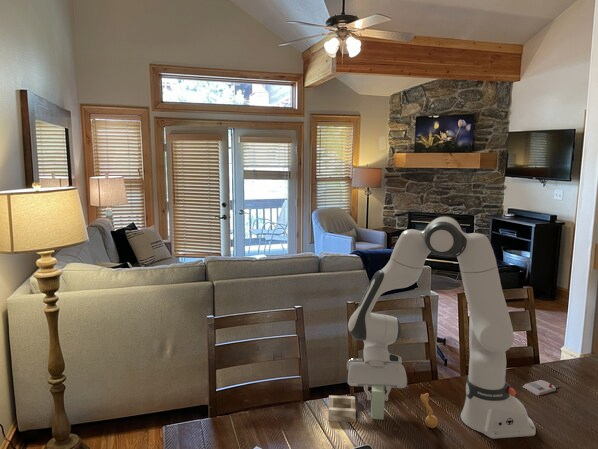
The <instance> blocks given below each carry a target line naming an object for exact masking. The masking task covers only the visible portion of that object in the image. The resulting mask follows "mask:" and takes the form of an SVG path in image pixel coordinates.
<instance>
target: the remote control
mask: <svg viewBox="0 0 598 449" xmlns="http://www.w3.org/2000/svg"><path fill="white" fill-rule="evenodd" d="M558 387H561V385H560V384H559V385H553V384H552V383H550V382H549V381H545V380H544V379H543V380H542V379H539V380H536V381H531V382H528V383H525V384H524V385H522V388H523V389H524V388H525V389H524V390H526V389H527V390H526V391H528V392H530V393H531V394H534V395H535V396H542V395H546V394H549V393H552V392H556V391H557V388H558Z"/></svg>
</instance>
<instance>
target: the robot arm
mask: <svg viewBox="0 0 598 449" xmlns="http://www.w3.org/2000/svg"><path fill="white" fill-rule="evenodd" d="M431 253H432V254H434V255H438V256H443V257H452V258H457V261H458V264H459V266H458V267H459V271H460V275H461V281H462V285H463V291H464V294H465V299H466V302H467V306H468V311H469V316H468V317H469V318H468V319H469V321H468V322H469V328H468V330H469V332H468V334H469V335H468V336H469V338H468V339H469V340H468V342H469V360H468V361H469V362H468V375H467V377H466V383H465V394H466V395H465V400H464V405H463V408H462V411H461V413H460V419H461V421H462V422H463V423H464V424H465V425H466V426H467V427H469V428H470V429H472V430H474V431H477V432H479V433H481V434H484V435H485V436H487V437H488V438H490V439H506V438H518V437H521V438H522V437H534V436H535V435H536V433H537V432H536V429H537V428H536V426H535V424H534V422H533V420H532V419H531V418H530V416H528V412H527V409H526V408H525V405H524V404H523V403H522V402H521V400H520V399H518V398H516V396H517V391H516V390H515V389H514V388H513V387H511V385H510V384H509V383H508V382H507V381H506V373H507V356H506V354H507V353H506V352H507V351H509V350H510V349H511V347H512V346H513V344H514V341H515V333H514V328H513V325H512V320H511V317H510V313H509V309H508V305H507V302H506V299H505V295H504V291H503V287H502V284H501V283H502V282H501V278H500V273H499V268H498V263H497V258H496V255H495V253H494V249H493V247H492V244H491V241H490V240H489V238H488V237H487V235H485V234H483V233H480V232H479V233H478V232H472V233H470V232H469V233H467V232H465V231H463V230H462V226H461V224H460V222H459V220H457V219H456V218H455V217H453V216H452V215H451V216H450V215H443V214H442V215H439V216H437V217H434V218H433V219H431V221H430V222H429V223H428V224H426V225H425V226H424V227H423V228H422V230H418V229H413V228H411V229H410V228H409V229H406V230H404V231H402V232H401V234H400V235H399V237H398V239H397V241H396V242H395V245H394V247H393V250H392V252H391V255H390V259H389V260H388V262H387V263H386V265H385V266H384V267H383V268H381V269H379V270H377V271H376V272H375V273H374V275H373V276H372V278H371V280H370V281H369V283H368V285H367V287H366V289H365V291H364V293H363V294H362V297H361V299H360V301H359V302H358V304H357V306H356V308H355V309H354V310H353V312H352V313H351V315H350V317H349V320H348V323H347V331H348V333H349V334H350V335H351V336H352V337H351V338H354V340H355V341H363V345H364V346H363V358H351V359H348V360H347V362H346V370H347V371H348V374H347V384H348V385H349V387H363V390H364V392H365V394H366V395H367V396H366V398H367V399H366V400H367V401H371V400H372V393H371V392H370V391H369V388H372V385H381V386H384V388H385V390H386V391H387V392H385V399H384V402H385V401H389V394H390V392H391V390H392V388H393V389H405V388H406V387H407V385H408V377H407V372H406V368H405V366H404V365H403V363H402V357H401V356H400V355H398V354H394V353H392V352H389V349H388V346H389V345H393V344H395V343H396V342H397V341H399V340H400V339H401V337H402V333H403V332H402V324H401V322H400V320H399V319H398V318H397V317H396V316H392V315H390V314H389V315H388V314H383V313H376V312H372V311H373V309H374V307H375V305H376V303H377V302H378V300H379V298H380V297H381V295H383V294H384V293H386V292H388V291H392V290H398V289H404V288H408V287H410V286H412V285H413V286H414V284H415V283H417V282H418V280H419V278H420V277H421V274H422V272H423V270H424V265H425V262H426V260H427V257H428V256H429V254H431Z"/></svg>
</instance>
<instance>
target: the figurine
mask: <svg viewBox="0 0 598 449" xmlns="http://www.w3.org/2000/svg"><path fill="white" fill-rule="evenodd" d="M429 396H430V394H429V392H426V393H421V394H420V397H419V398H420V401H421V402H422V403H423V405H424V406H425V407H426V413H427V416H426V417H425V419H424V420H425V421H424V422H425V425H426V426H427V427H428V428H429V429H435V428H437V427H438V425H439V420H438V418H437V416H435V415H434V412H433V408H432V407H431V405H430V404H429V400H430V399H429Z"/></svg>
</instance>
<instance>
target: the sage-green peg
mask: <svg viewBox="0 0 598 449" xmlns="http://www.w3.org/2000/svg"><path fill="white" fill-rule="evenodd" d="M370 393H372V400H370V401H371V402H370V415H371V420H383V421H384V420H385V401H384V399H385V394H386V391H385V387H384V386H381V385H372V387H371V392H370Z"/></svg>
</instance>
